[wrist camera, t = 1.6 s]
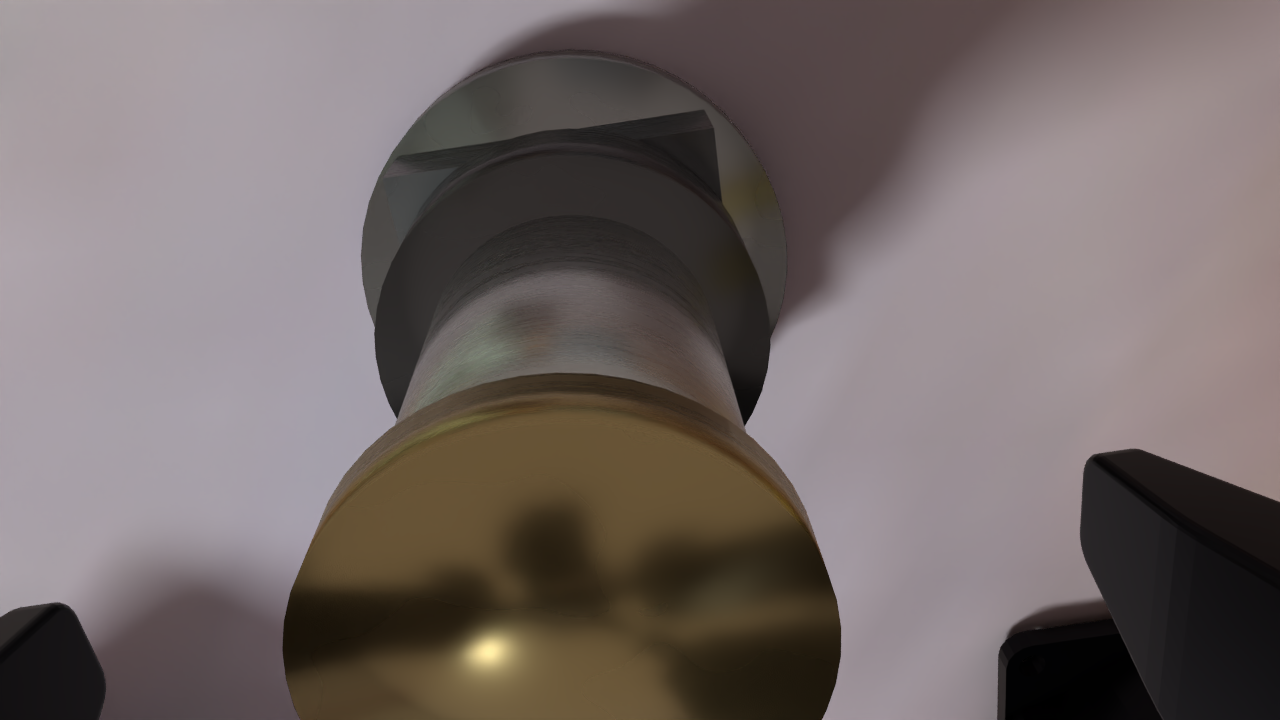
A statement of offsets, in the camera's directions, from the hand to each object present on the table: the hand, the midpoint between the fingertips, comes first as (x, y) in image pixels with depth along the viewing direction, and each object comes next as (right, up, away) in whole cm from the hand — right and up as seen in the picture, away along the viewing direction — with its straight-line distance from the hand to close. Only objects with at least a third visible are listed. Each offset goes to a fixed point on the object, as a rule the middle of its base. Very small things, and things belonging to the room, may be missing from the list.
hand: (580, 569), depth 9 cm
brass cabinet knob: (0, +3, +5) cm, 6 cm away
